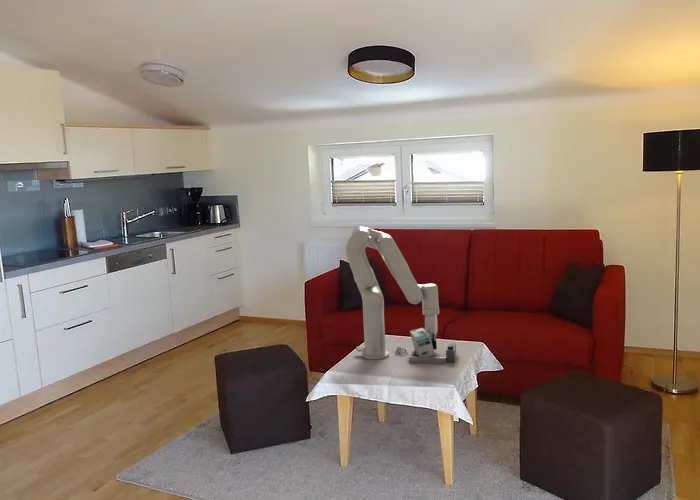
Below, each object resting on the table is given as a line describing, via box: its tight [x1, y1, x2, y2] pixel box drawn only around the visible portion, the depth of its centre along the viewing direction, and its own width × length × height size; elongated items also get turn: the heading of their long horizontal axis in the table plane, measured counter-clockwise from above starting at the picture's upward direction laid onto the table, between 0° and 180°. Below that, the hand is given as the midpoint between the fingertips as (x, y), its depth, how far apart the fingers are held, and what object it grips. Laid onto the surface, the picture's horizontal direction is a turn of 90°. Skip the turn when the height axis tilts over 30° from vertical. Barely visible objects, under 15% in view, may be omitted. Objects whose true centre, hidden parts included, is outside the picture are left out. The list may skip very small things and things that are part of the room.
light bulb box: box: [409, 327, 436, 357], centre depth 284 cm, size 11×7×11 cm, turn 11°
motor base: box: [408, 342, 457, 365], centre depth 280 cm, size 20×16×7 cm
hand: (433, 348), depth 288 cm, fingers closed
